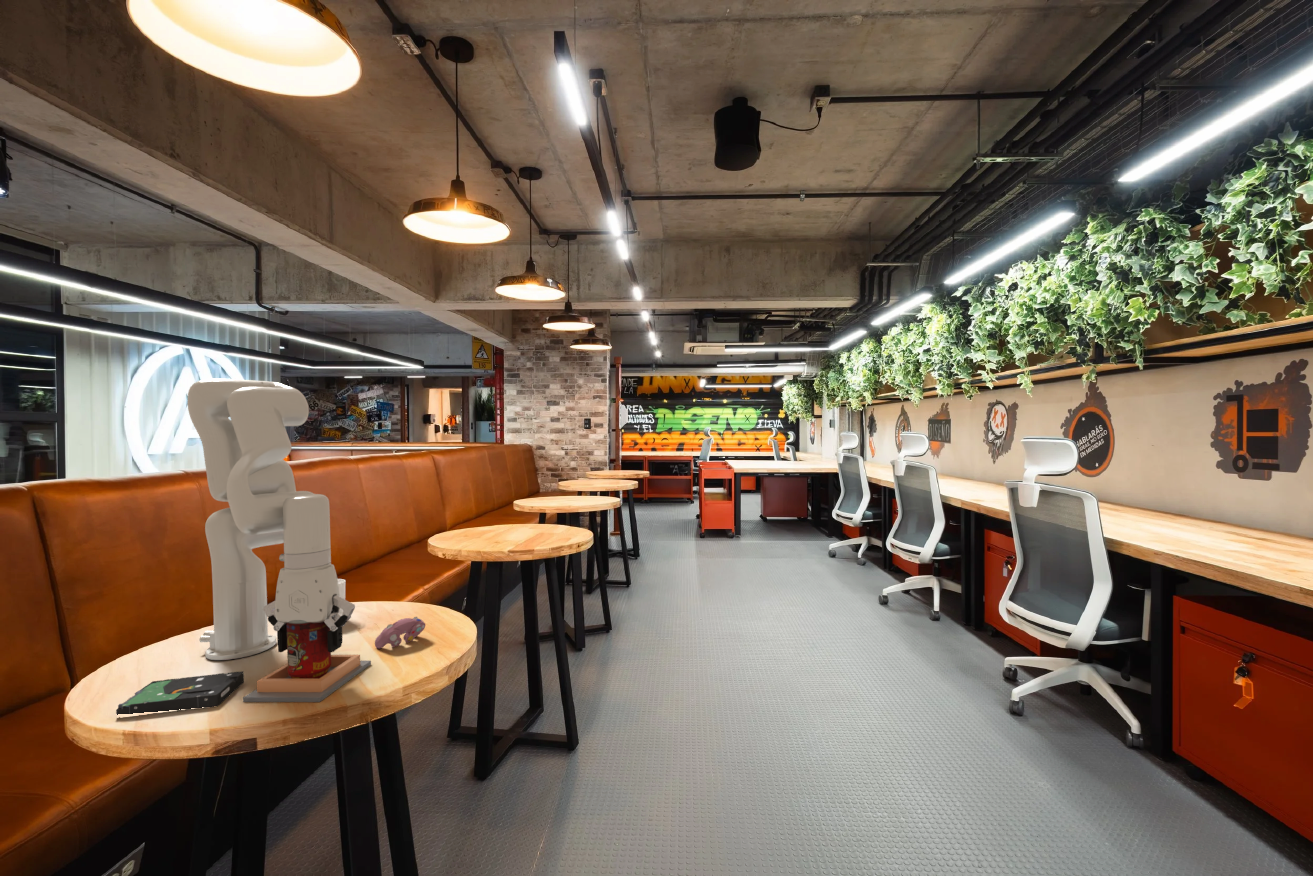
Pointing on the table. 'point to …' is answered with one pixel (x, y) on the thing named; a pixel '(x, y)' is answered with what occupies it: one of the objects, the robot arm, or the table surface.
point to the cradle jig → (306, 682)
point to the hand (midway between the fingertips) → (310, 649)
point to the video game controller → (400, 632)
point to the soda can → (307, 649)
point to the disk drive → (183, 693)
